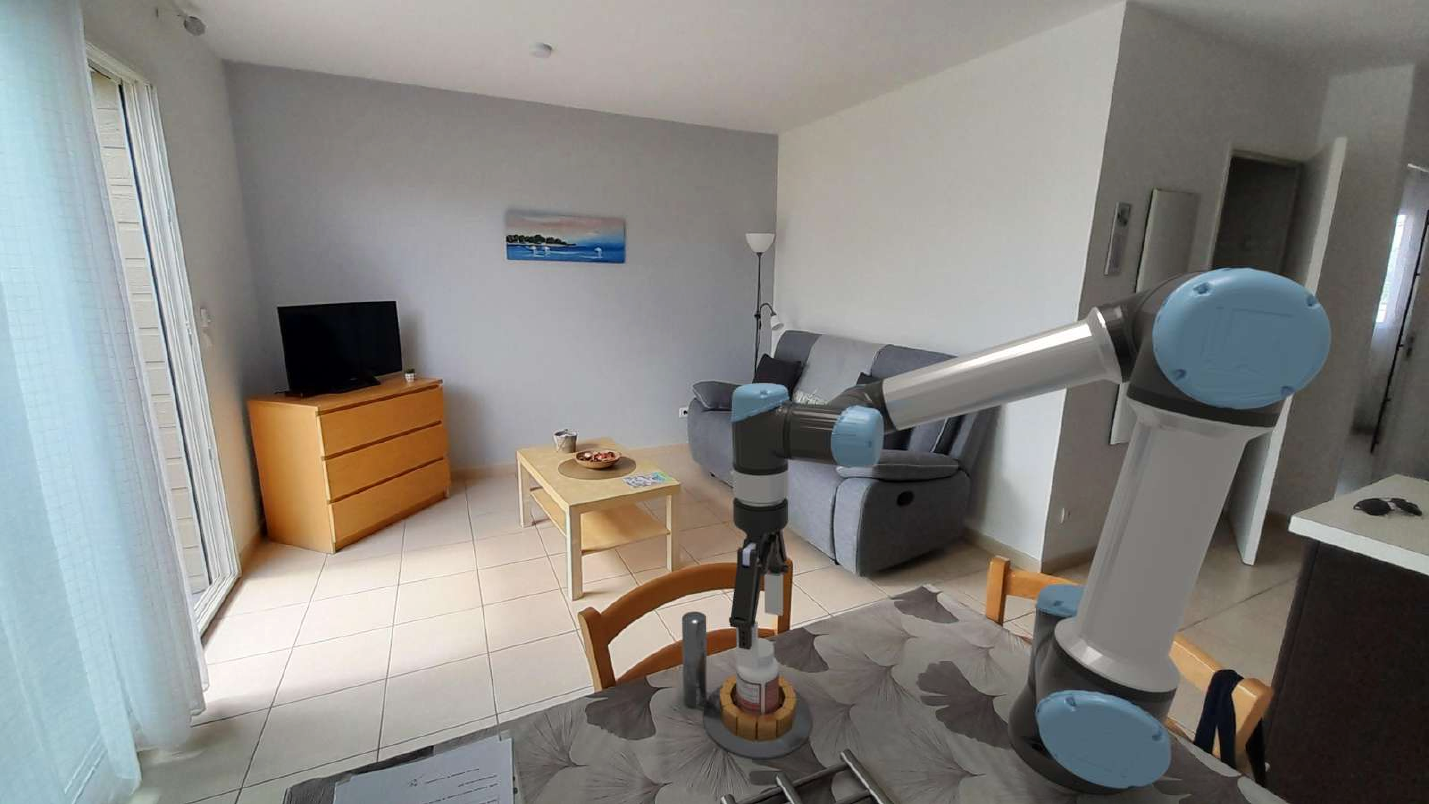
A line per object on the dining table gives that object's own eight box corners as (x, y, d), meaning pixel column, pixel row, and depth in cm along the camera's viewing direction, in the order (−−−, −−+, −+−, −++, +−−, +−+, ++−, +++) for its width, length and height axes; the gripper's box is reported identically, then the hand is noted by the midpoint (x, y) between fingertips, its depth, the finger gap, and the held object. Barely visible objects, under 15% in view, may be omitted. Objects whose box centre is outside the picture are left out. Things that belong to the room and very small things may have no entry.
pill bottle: (771, 696, 91) (772, 631, 89) (784, 725, 85) (785, 656, 83) (731, 702, 90) (732, 637, 88) (742, 732, 84) (742, 662, 82)
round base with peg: (821, 694, 92) (824, 613, 90) (798, 773, 78) (801, 679, 75) (703, 666, 99) (702, 590, 96) (662, 733, 85) (660, 646, 82)
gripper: (759, 468, 94) (760, 591, 98) (701, 529, 71) (705, 686, 75) (806, 472, 91) (805, 598, 95) (761, 537, 68) (763, 700, 72)
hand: (761, 637), depth 85 cm, fingers open, 13 cm apart
